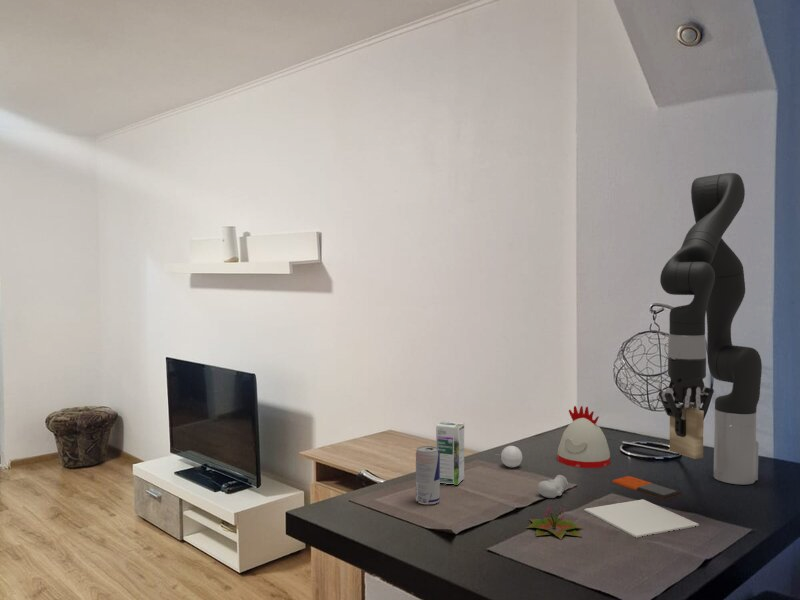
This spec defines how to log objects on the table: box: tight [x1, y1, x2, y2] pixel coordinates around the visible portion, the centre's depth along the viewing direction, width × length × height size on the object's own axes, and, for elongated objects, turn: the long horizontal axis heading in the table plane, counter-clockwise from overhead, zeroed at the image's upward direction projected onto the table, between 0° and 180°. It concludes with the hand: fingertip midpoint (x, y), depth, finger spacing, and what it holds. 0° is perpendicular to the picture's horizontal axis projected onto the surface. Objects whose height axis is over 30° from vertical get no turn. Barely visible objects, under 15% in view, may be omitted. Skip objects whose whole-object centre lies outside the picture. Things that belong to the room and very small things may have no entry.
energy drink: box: [415, 445, 441, 504], centre depth 151 cm, size 5×5×12 cm
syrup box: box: [435, 420, 465, 486], centre depth 165 cm, size 6×6×14 cm
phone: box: [611, 475, 682, 500], centre depth 161 cm, size 6×1×15 cm
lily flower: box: [525, 506, 584, 540], centre depth 135 cm, size 12×12×5 cm
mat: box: [583, 499, 700, 539], centre depth 141 cm, size 16×16×1 cm
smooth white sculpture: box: [537, 474, 569, 499], centre depth 156 cm, size 4×8×5 cm
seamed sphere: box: [496, 445, 523, 469], centre depth 179 cm, size 8×6×6 cm
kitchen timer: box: [557, 405, 611, 469], centre depth 184 cm, size 14×14×15 cm
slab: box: [668, 407, 705, 460], centre depth 145 cm, size 3×7×10 cm, turn 22°
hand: (686, 435), depth 145 cm, fingers closed on slab, 2 cm apart
